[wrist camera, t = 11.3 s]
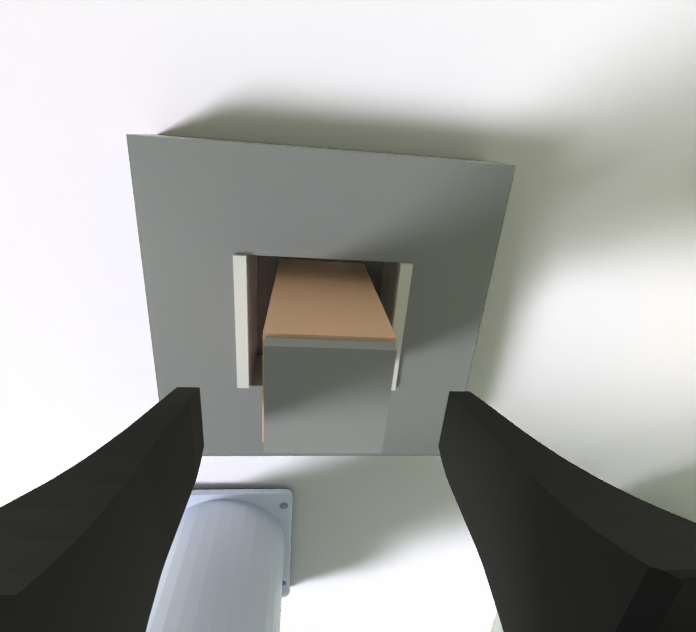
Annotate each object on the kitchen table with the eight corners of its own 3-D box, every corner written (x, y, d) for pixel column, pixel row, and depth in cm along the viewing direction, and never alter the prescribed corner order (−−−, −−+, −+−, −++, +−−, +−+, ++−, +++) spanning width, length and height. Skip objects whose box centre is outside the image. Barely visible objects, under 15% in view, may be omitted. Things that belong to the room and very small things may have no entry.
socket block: (434, 418, 24) (452, 458, 21) (183, 416, 22) (164, 459, 19) (484, 161, 18) (517, 166, 15) (156, 134, 17) (124, 134, 14)
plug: (356, 338, 21) (384, 455, 14) (278, 335, 21) (260, 454, 13) (363, 263, 20) (400, 347, 12) (279, 258, 19) (260, 342, 12)
